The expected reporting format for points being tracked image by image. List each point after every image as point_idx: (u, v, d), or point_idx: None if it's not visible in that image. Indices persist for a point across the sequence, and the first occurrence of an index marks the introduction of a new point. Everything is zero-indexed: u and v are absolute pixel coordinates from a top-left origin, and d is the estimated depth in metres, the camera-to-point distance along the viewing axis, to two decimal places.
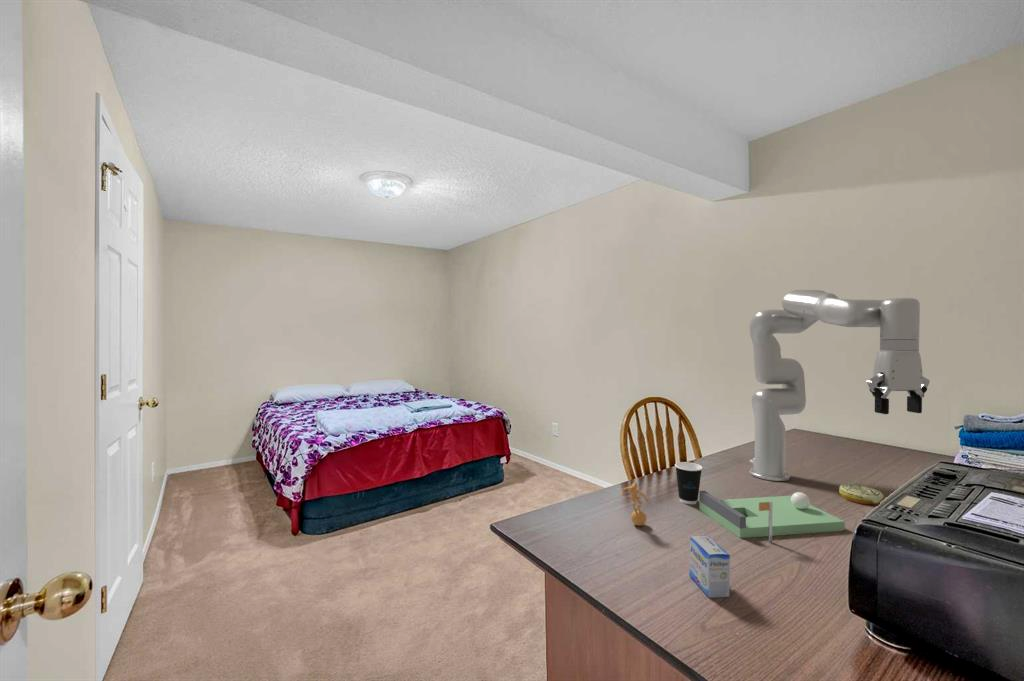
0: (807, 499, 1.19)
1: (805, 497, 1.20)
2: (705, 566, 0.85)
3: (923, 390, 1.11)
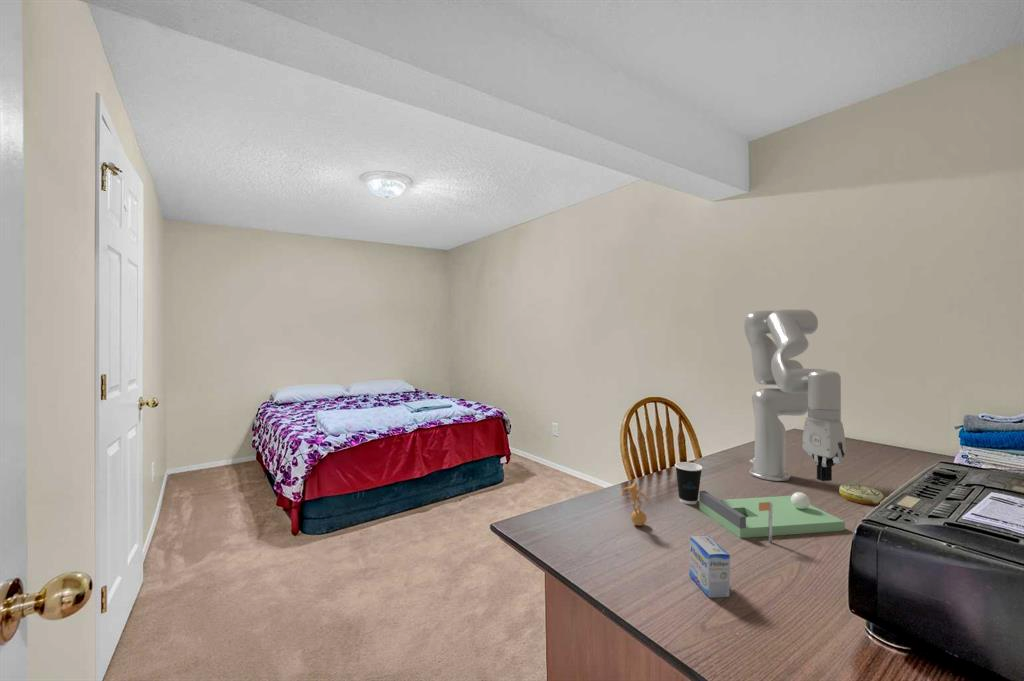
0: (807, 499, 1.19)
1: (805, 497, 1.20)
2: (705, 566, 0.85)
3: None
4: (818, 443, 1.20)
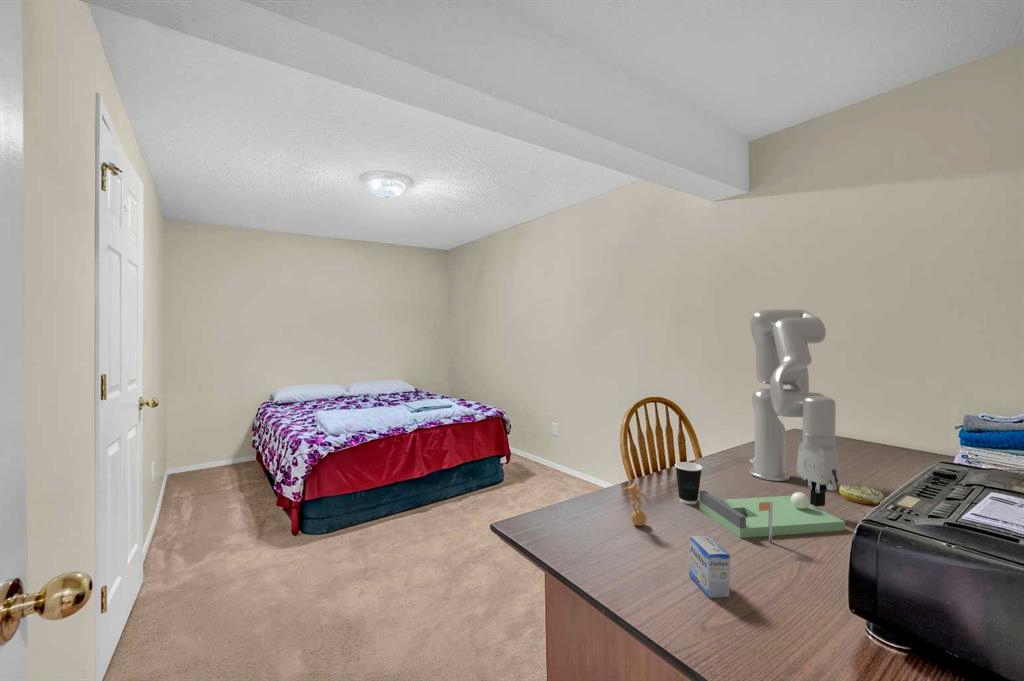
0: (807, 499, 1.19)
1: (805, 497, 1.20)
2: (705, 566, 0.85)
3: None
4: (812, 469, 1.20)
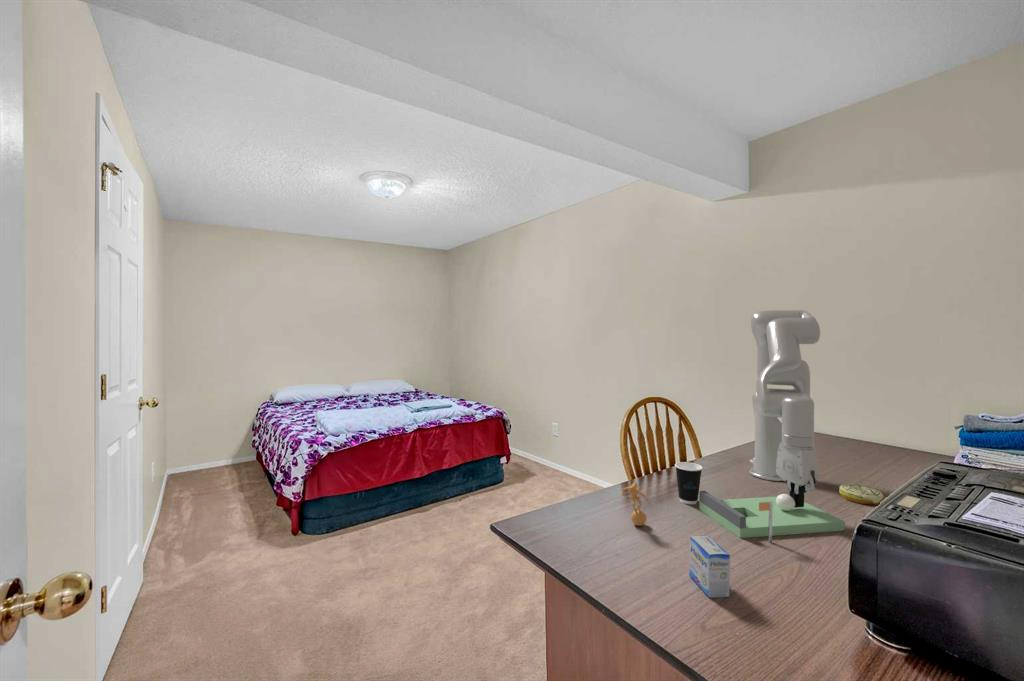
0: (788, 506, 1.18)
1: (786, 508, 1.18)
2: (705, 566, 0.85)
3: None
4: (791, 470, 1.19)
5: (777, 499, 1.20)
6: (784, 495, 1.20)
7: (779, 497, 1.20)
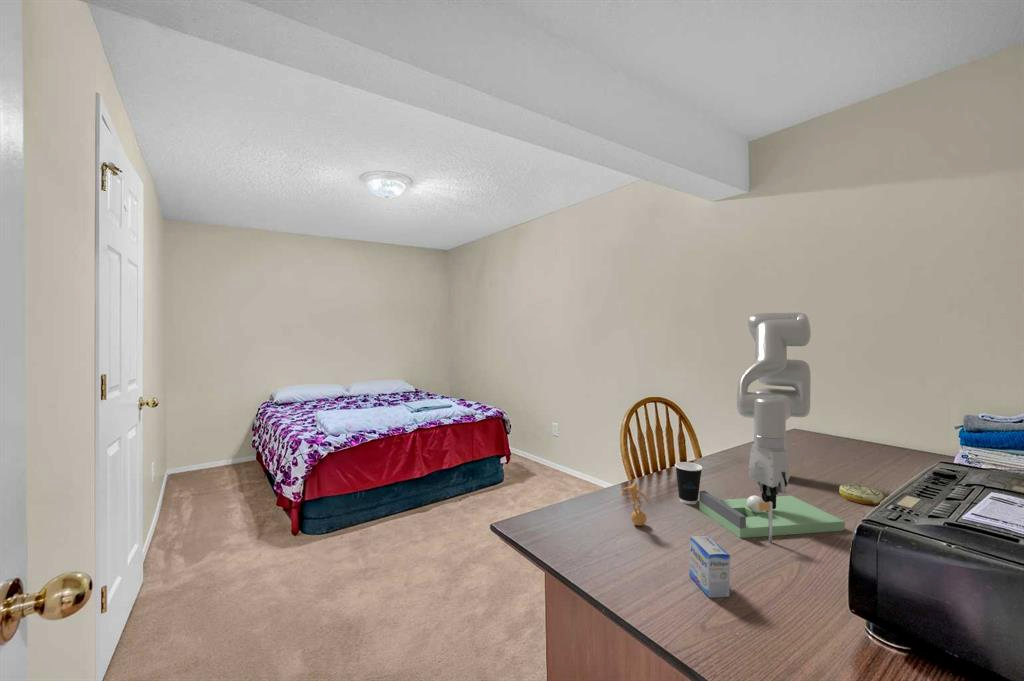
0: None
1: (760, 501, 1.17)
2: (705, 566, 0.85)
3: None
4: (762, 471, 1.18)
5: None
6: None
7: None
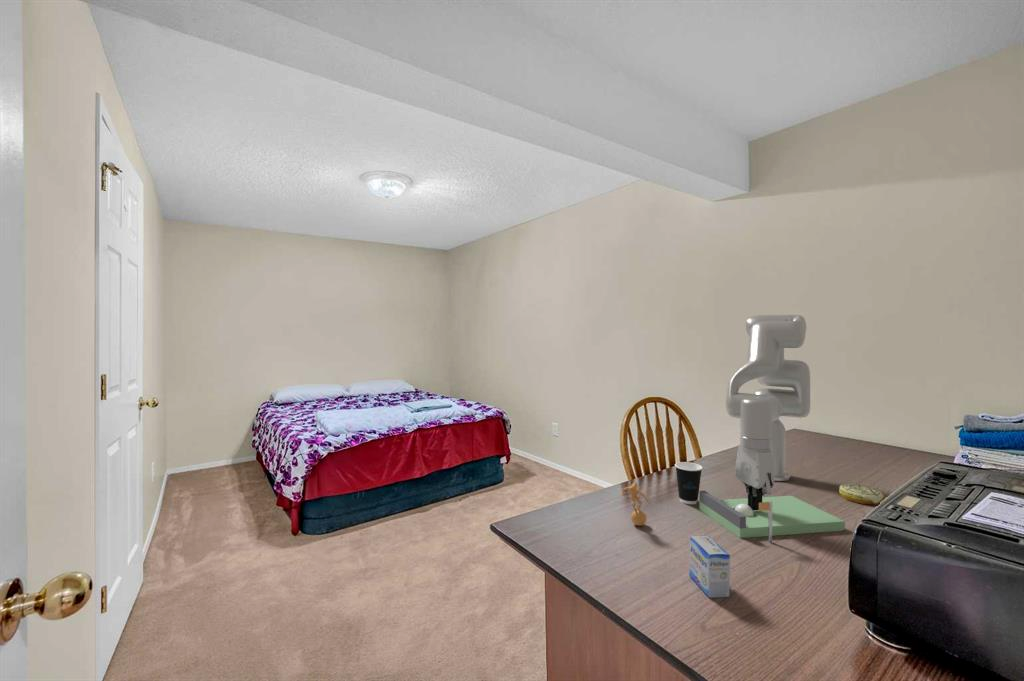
0: (746, 516, 1.16)
1: None
2: (705, 566, 0.85)
3: None
4: (748, 472, 1.18)
5: (736, 507, 1.19)
6: (744, 505, 1.18)
7: (739, 506, 1.18)
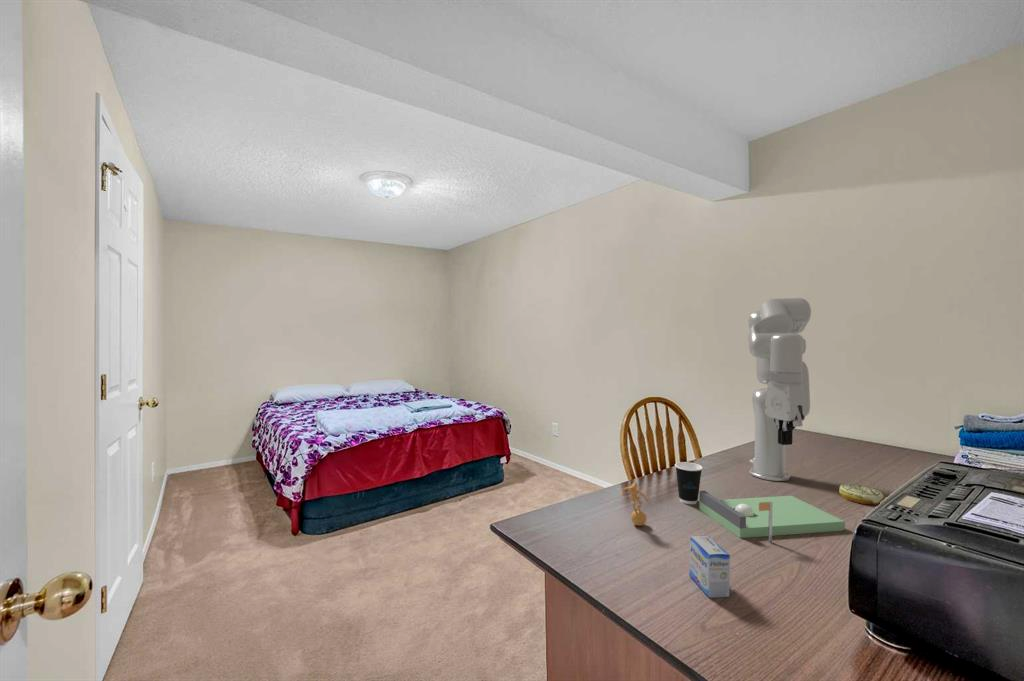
0: (746, 515, 1.16)
1: None
2: (705, 566, 0.85)
3: None
4: (779, 407, 1.19)
5: (737, 507, 1.19)
6: (745, 505, 1.18)
7: (739, 505, 1.18)
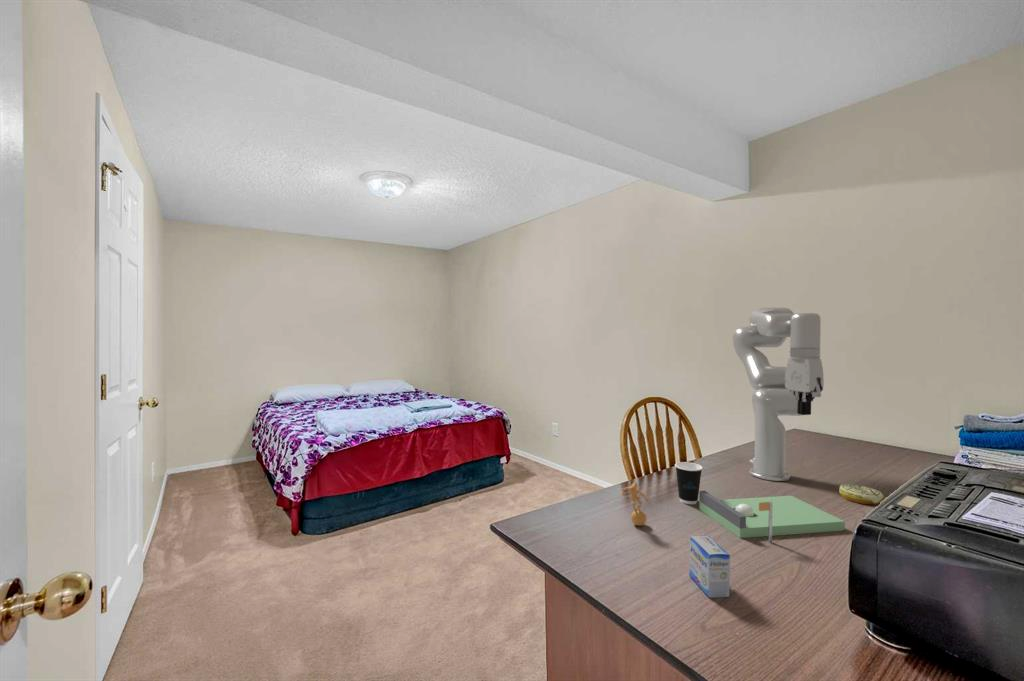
0: (746, 515, 1.16)
1: None
2: (705, 566, 0.85)
3: None
4: (799, 380, 1.29)
5: (737, 507, 1.19)
6: (745, 505, 1.18)
7: (740, 505, 1.18)
